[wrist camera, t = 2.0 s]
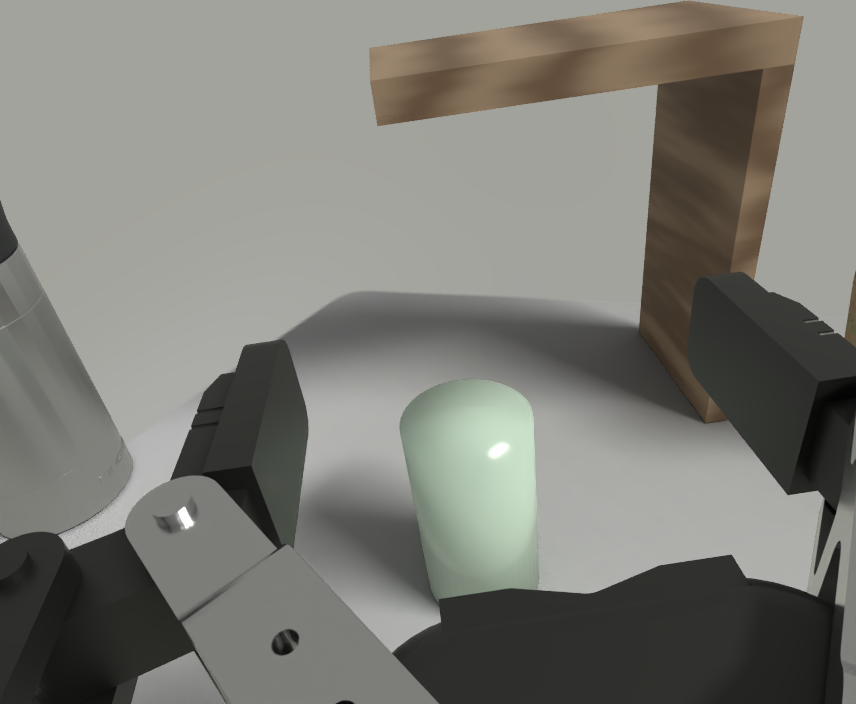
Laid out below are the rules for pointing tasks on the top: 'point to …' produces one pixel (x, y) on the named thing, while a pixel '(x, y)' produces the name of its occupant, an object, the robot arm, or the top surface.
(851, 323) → the coffee cup
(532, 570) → the pillar candle
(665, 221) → the overhanging shelf
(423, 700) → the robot arm
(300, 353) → the top surface
